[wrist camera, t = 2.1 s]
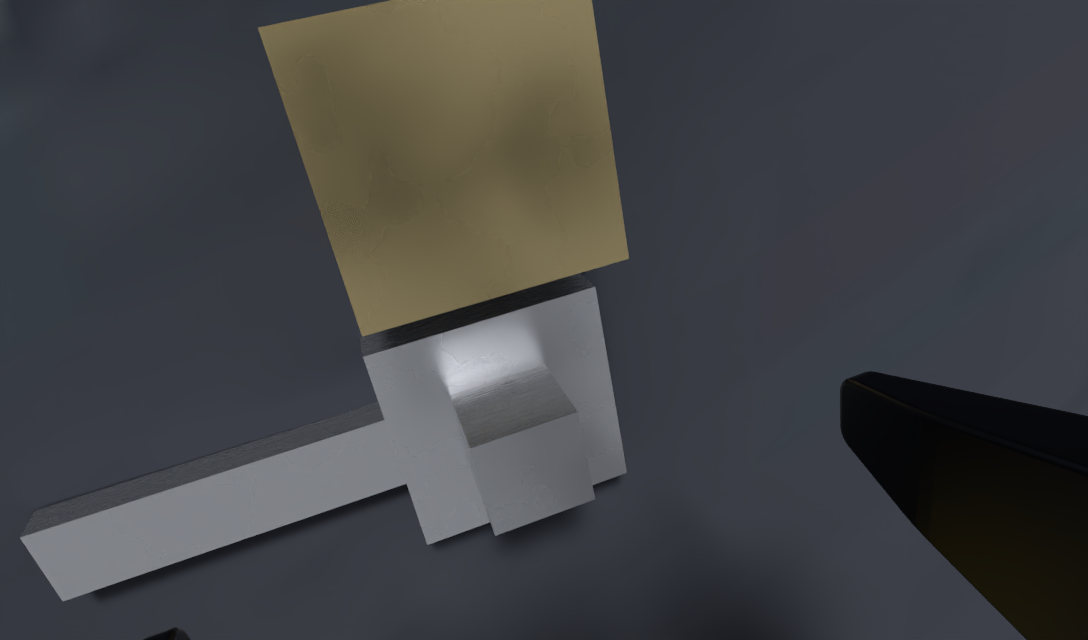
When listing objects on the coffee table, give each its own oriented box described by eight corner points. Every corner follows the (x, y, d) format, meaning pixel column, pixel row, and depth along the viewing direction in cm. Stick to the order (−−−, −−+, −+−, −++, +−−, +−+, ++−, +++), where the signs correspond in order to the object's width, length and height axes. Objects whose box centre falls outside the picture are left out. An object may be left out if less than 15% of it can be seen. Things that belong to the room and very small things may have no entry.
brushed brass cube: (508, -20, 18) (585, -40, 13) (550, 200, 21) (628, 258, 16) (277, 28, 17) (258, 27, 12) (351, 254, 20) (362, 336, 14)
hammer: (578, 271, 22) (636, 323, 18) (610, 449, 25) (666, 528, 21) (-7, 444, 19) (-93, 555, 15) (110, 626, 22) (64, 758, 18)
